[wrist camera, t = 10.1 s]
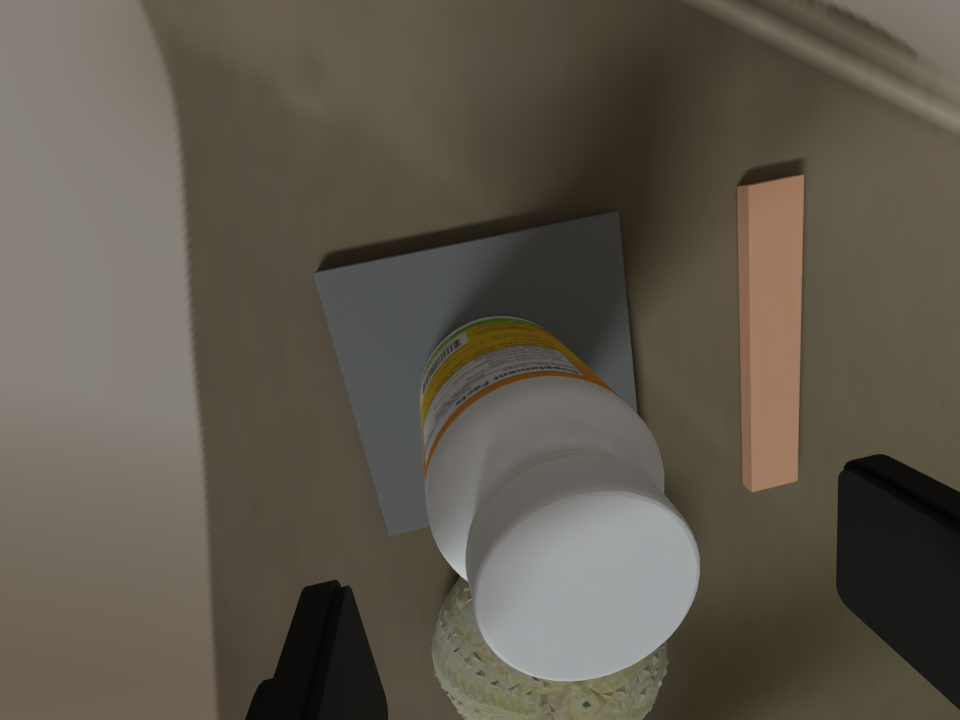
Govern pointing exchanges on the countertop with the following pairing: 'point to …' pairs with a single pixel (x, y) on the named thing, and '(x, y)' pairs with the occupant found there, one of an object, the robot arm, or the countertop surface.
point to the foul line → (770, 328)
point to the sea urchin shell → (530, 677)
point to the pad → (453, 303)
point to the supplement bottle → (550, 504)
